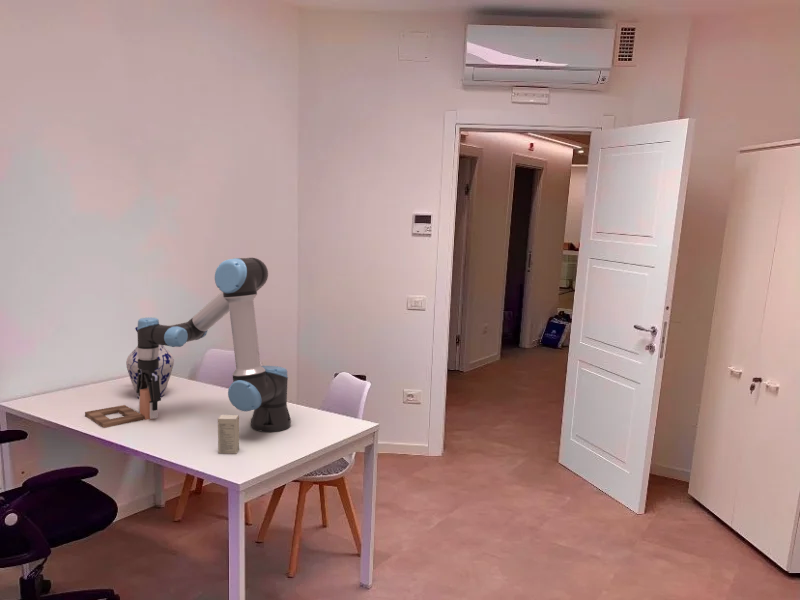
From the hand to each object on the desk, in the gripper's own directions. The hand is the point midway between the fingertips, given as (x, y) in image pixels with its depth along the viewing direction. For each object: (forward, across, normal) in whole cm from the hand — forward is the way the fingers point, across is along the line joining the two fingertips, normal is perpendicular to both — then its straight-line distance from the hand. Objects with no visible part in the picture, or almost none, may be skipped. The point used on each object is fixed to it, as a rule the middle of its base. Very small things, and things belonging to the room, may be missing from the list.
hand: (148, 415), depth 233 cm
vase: (+1, +27, -13) cm, 30 cm away
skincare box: (+1, -50, -5) cm, 50 cm away
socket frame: (+1, +7, +10) cm, 12 cm away
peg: (+1, 0, 0) cm, 1 cm away
